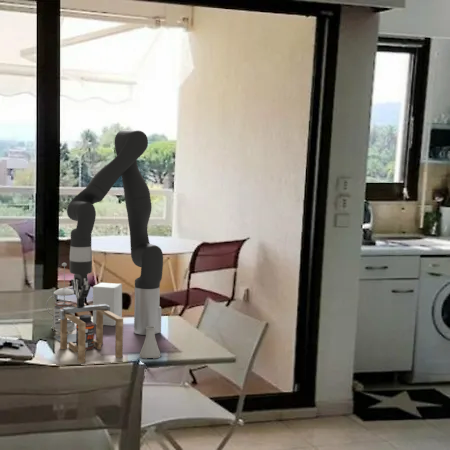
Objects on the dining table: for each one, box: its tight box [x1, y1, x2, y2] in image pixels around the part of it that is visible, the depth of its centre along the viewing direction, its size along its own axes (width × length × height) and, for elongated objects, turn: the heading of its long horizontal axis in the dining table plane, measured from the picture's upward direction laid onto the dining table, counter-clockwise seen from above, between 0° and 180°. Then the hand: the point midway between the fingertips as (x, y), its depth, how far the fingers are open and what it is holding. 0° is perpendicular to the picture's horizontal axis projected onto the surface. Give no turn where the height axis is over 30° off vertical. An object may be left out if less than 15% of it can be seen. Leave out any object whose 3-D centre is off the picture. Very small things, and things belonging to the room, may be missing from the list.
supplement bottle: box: [75, 314, 95, 351], centre depth 263 cm, size 6×6×11 cm
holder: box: [59, 309, 124, 364], centre depth 258 cm, size 15×19×13 cm
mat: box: [53, 333, 76, 345], centre depth 274 cm, size 10×10×1 cm
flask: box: [138, 326, 162, 359], centre depth 256 cm, size 7×7×10 cm
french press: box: [45, 262, 76, 332], centre depth 287 cm, size 10×12×25 cm
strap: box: [59, 304, 110, 320], centre depth 262 cm, size 17×2×4 cm, turn 121°
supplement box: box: [92, 282, 123, 327], centre depth 298 cm, size 9×9×15 cm
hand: (80, 308), depth 265 cm, fingers closed
